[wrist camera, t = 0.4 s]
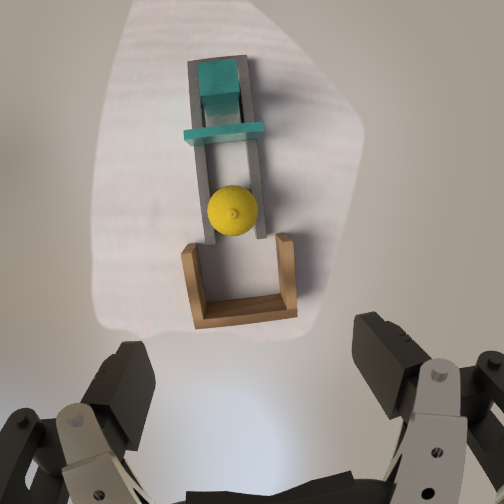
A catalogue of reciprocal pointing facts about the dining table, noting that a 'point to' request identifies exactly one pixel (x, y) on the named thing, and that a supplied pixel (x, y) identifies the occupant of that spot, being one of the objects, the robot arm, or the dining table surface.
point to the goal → (248, 307)
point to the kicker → (221, 106)
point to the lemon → (232, 210)
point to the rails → (250, 145)
